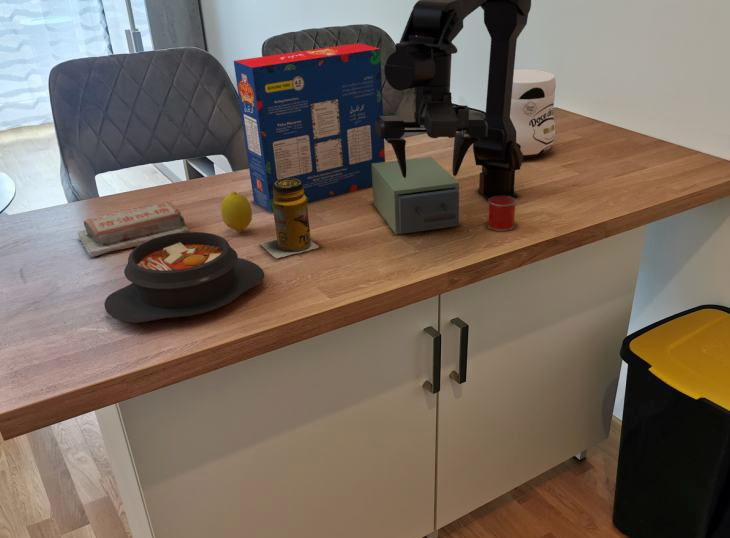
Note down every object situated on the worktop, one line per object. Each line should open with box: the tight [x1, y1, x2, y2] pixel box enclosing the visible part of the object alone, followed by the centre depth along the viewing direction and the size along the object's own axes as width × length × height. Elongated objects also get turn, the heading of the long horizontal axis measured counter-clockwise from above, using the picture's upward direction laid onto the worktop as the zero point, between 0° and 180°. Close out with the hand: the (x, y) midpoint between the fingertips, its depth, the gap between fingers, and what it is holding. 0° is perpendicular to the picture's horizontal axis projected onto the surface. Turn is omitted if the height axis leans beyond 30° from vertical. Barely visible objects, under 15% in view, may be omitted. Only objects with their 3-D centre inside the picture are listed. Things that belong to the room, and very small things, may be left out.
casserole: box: [103, 231, 265, 324], centre depth 114 cm, size 25×19×8 cm
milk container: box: [510, 68, 556, 159], centre depth 173 cm, size 17×17×18 cm
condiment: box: [260, 178, 320, 259], centre depth 129 cm, size 7×8×12 cm
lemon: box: [220, 191, 253, 233], centre depth 136 cm, size 6×6×8 cm
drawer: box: [398, 188, 460, 234], centre depth 138 cm, size 21×11×7 cm, turn 18°
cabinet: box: [371, 156, 460, 235], centre depth 142 cm, size 17×13×9 cm
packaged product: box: [77, 201, 190, 258], centre depth 135 cm, size 18×5×10 cm
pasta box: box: [233, 42, 386, 214], centre depth 149 cm, size 28×8×28 cm, turn 127°
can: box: [487, 195, 517, 232], centre depth 138 cm, size 5×5×5 cm
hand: (429, 176), depth 128 cm, fingers open, 9 cm apart
